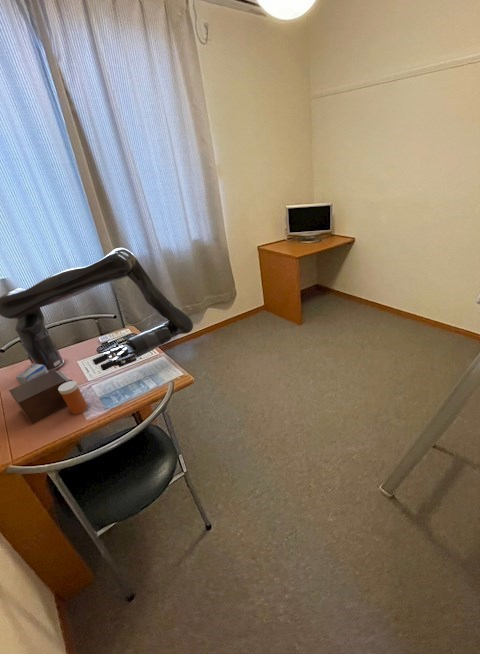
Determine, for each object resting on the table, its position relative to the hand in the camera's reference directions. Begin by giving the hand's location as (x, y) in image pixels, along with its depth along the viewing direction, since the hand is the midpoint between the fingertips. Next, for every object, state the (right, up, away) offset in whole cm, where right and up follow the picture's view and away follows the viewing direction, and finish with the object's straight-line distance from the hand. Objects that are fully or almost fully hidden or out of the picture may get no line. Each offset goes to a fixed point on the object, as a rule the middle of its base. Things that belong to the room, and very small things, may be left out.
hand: (97, 365), depth 113 cm
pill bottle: (-6, -15, -1) cm, 16 cm away
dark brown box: (-18, -14, +2) cm, 23 cm away
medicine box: (-27, -10, +10) cm, 31 cm away
